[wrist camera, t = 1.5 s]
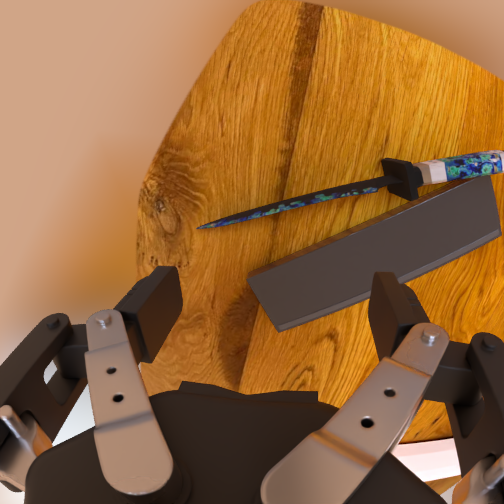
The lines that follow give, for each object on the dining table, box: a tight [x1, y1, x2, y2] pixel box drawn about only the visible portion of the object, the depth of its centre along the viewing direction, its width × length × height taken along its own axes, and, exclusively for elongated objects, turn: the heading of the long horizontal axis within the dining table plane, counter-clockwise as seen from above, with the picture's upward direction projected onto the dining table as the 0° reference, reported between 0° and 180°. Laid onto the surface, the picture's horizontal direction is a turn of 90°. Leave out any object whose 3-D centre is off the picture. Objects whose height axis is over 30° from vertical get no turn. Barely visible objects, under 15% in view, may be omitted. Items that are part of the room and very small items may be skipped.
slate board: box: [246, 175, 502, 333], centre depth 28 cm, size 7×26×2 cm, turn 119°
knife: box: [196, 150, 504, 229], centre depth 24 cm, size 30×3×4 cm, turn 105°
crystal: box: [392, 438, 461, 482], centre depth 39 cm, size 7×7×24 cm
